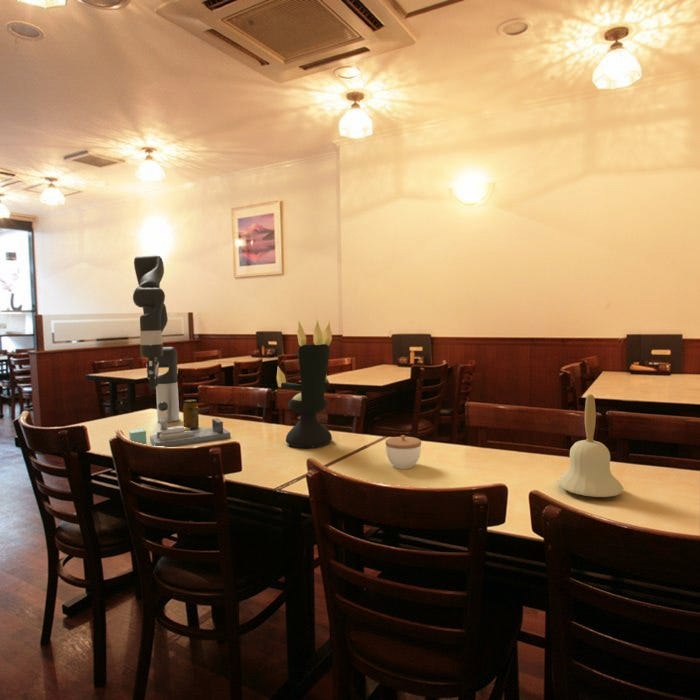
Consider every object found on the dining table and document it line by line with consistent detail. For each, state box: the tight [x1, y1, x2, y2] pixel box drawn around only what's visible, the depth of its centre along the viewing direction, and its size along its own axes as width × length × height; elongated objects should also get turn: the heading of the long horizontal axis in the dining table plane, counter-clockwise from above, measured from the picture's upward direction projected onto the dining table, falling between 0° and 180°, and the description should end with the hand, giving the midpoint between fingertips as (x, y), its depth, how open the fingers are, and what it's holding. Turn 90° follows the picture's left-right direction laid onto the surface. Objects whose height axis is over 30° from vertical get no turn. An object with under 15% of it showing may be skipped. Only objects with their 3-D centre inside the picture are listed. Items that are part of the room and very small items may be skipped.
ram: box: [158, 401, 188, 435], centre depth 188 cm, size 4×10×13 cm, turn 120°
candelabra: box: [276, 319, 333, 449], centre depth 179 cm, size 19×22×45 cm
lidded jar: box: [385, 434, 422, 470], centre depth 153 cm, size 11×11×9 cm
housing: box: [128, 428, 148, 444], centre depth 182 cm, size 5×5×6 cm
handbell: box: [556, 393, 625, 498], centre depth 127 cm, size 15×15×25 cm
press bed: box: [149, 418, 231, 448], centre depth 191 cm, size 13×27×6 cm, turn 120°
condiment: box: [182, 399, 204, 430], centre depth 209 cm, size 7×8×12 cm
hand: (153, 387), depth 183 cm, fingers open, 8 cm apart
